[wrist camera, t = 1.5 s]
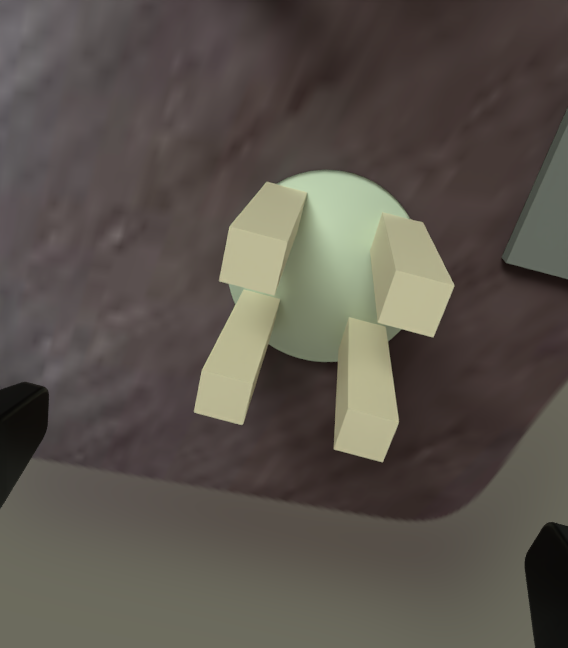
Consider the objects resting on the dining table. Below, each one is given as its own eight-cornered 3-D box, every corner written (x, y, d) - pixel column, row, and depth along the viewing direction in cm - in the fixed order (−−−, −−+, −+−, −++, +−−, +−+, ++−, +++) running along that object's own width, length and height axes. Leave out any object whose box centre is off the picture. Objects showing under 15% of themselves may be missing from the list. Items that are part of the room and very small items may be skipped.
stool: (219, 322, 21) (162, 427, 15) (254, 147, 18) (202, 183, 12) (386, 366, 21) (401, 491, 15) (448, 197, 18) (501, 262, 12)
